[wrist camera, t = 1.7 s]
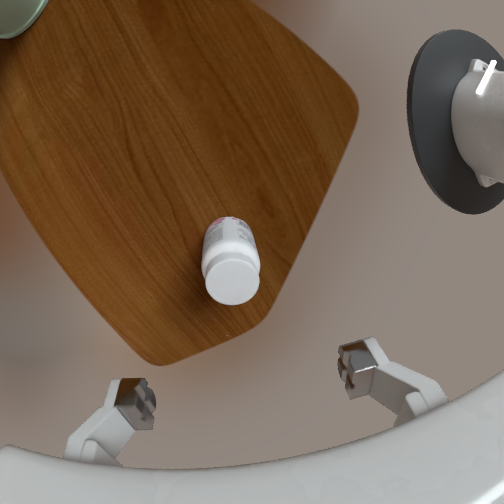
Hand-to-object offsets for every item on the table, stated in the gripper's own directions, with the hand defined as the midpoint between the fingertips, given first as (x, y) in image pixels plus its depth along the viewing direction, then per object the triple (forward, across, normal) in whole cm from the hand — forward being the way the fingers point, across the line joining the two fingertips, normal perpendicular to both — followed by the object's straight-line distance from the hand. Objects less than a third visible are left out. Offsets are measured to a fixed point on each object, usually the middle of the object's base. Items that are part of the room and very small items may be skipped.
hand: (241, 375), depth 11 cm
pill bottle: (+19, 0, +2) cm, 19 cm away
